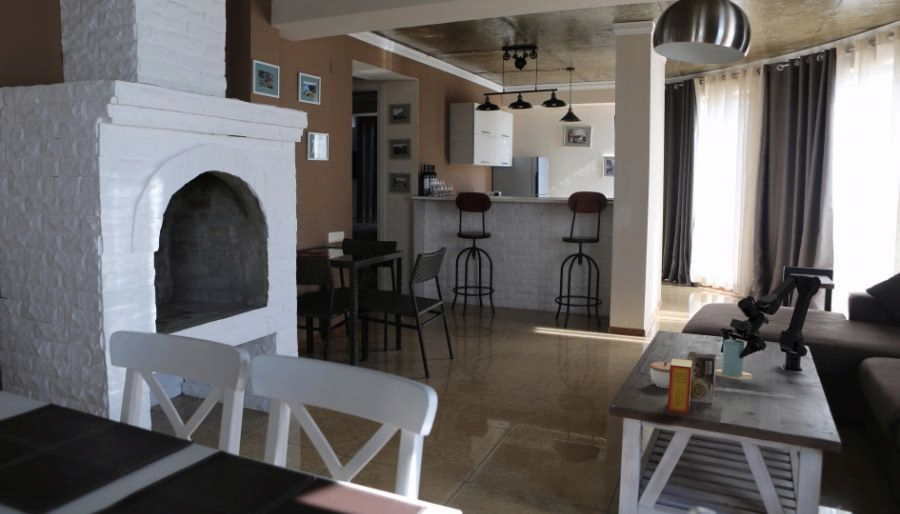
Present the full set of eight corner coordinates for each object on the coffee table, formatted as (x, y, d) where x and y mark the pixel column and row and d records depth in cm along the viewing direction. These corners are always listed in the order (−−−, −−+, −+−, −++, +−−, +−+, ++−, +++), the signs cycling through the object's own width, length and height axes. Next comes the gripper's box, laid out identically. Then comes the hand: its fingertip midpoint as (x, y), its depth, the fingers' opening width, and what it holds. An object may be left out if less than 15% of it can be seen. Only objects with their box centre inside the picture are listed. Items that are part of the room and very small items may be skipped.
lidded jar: (681, 391, 254) (682, 366, 253) (650, 388, 256) (651, 364, 255) (677, 382, 264) (679, 358, 263) (648, 380, 266) (649, 356, 265)
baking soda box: (669, 402, 240) (672, 357, 239) (689, 405, 238) (692, 359, 236) (667, 410, 232) (670, 363, 230) (688, 413, 229) (691, 366, 227)
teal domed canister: (725, 370, 278) (727, 338, 277) (744, 373, 274) (746, 341, 272) (719, 374, 273) (721, 341, 271) (738, 377, 268) (740, 344, 267)
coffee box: (714, 399, 245) (717, 354, 243) (712, 404, 239) (715, 358, 237) (687, 395, 249) (689, 351, 247) (684, 400, 243) (687, 355, 241)
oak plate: (710, 370, 283) (710, 367, 283) (750, 373, 278) (750, 370, 278) (712, 380, 268) (712, 377, 268) (754, 384, 264) (754, 381, 264)
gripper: (724, 307, 280) (702, 336, 277) (762, 316, 264) (739, 347, 260) (737, 325, 285) (715, 354, 281) (776, 334, 268) (753, 365, 264)
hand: (730, 354), depth 272 cm, fingers open, 9 cm apart
